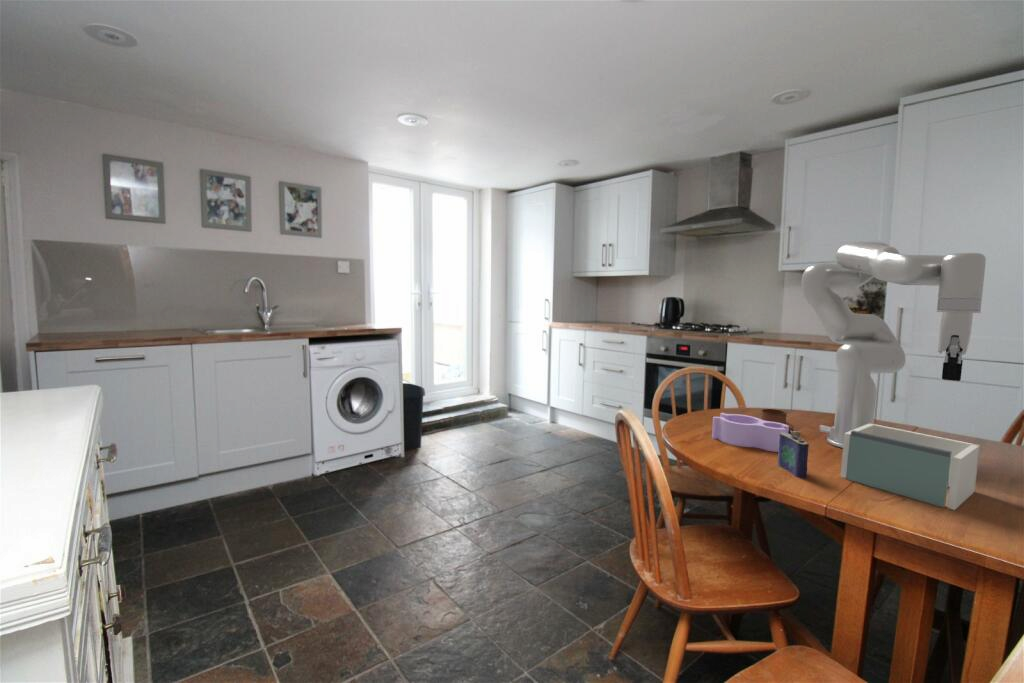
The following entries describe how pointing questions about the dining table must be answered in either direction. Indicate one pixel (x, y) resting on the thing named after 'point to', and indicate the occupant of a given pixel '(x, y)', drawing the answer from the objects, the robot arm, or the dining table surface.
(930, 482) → the panel
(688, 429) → the dining table surface
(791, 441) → the flask
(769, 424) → the purple cup holder
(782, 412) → the cup and saucer
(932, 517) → the dining table surface
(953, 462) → the teal front storage box
